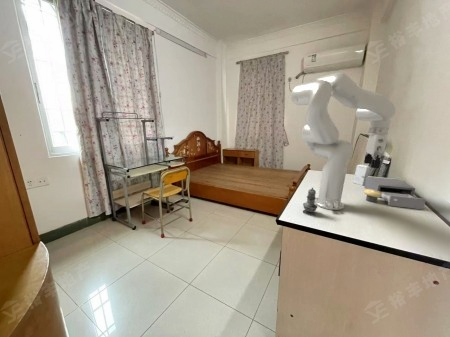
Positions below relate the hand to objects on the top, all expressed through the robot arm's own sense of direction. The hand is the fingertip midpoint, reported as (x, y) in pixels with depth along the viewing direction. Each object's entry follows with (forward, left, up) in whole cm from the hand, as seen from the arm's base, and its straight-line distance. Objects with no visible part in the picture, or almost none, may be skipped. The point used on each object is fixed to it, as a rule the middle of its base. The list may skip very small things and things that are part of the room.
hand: (370, 165), depth 95 cm
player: (+11, -14, -18) cm, 25 cm away
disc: (-3, -2, -14) cm, 15 cm away
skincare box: (+26, -6, -18) cm, 32 cm away
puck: (-3, -2, -18) cm, 18 cm away
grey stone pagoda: (-27, +30, -18) cm, 44 cm away
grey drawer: (0, -14, -17) cm, 22 cm away
